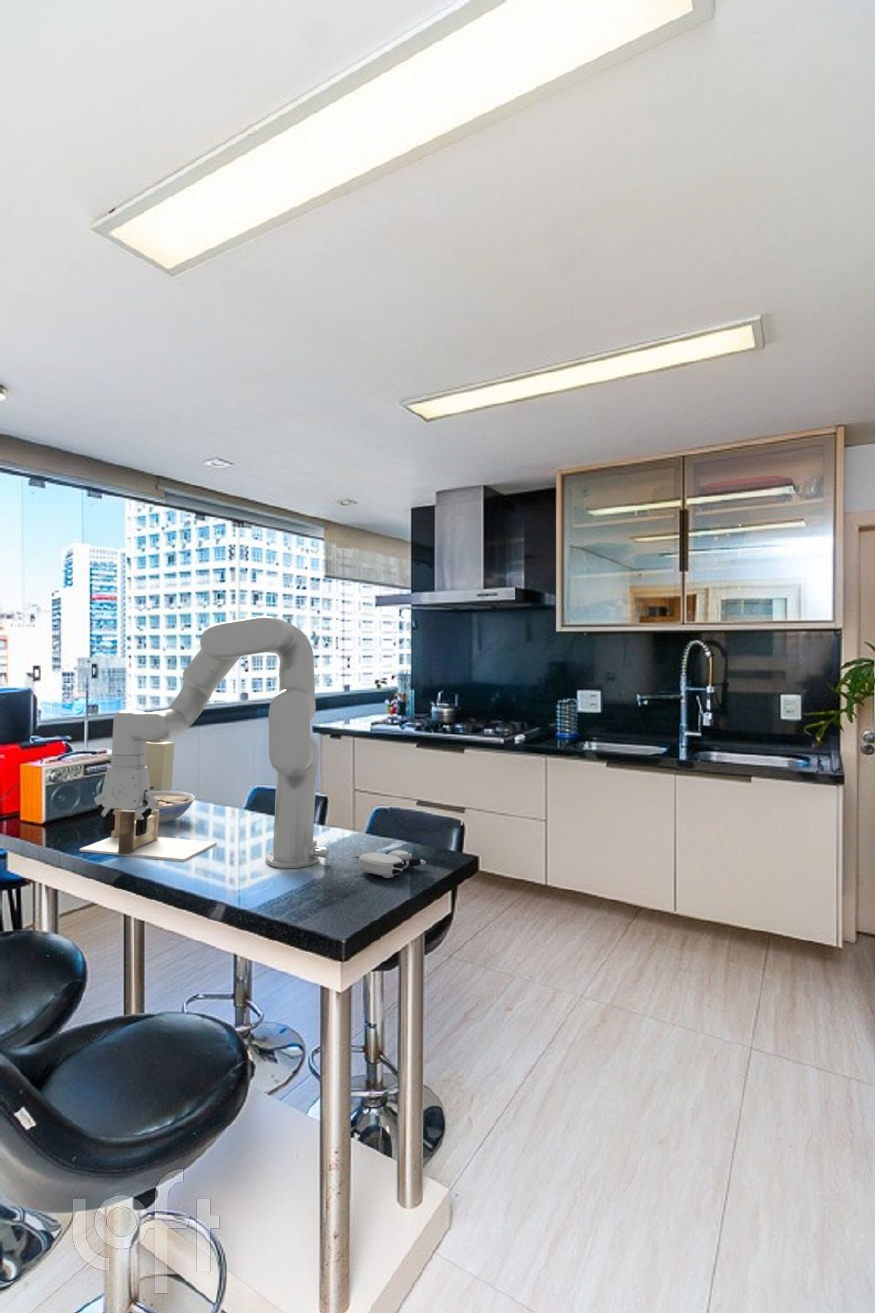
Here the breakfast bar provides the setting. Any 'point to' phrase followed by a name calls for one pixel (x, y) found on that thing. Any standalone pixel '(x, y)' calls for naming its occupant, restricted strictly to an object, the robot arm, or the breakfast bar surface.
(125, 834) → the hinged fence panel
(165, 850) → the layout board with fixed fence
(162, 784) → the beige tall block
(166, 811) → the ramen bowl
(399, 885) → the breakfast bar surface
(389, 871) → the robot toy
